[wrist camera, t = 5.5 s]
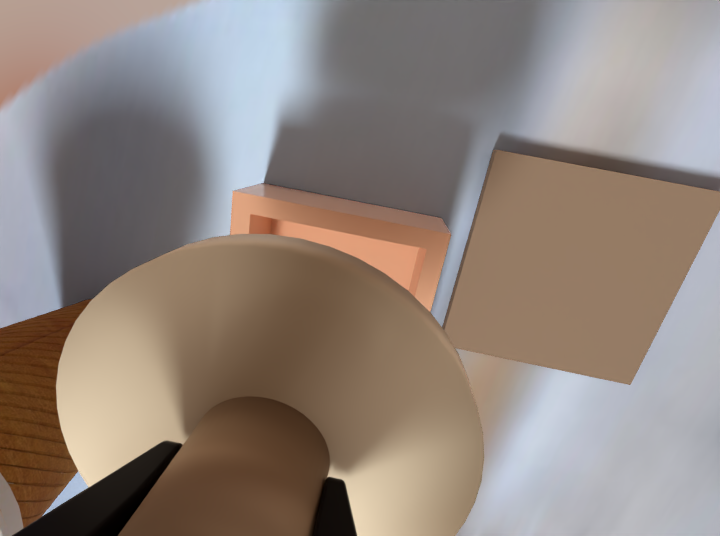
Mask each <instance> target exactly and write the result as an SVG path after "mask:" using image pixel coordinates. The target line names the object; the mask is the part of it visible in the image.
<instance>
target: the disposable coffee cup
mask: <svg viewBox="0 0 720 536" xmlns="http://www.w3.org/2000/svg"><path fill="white" fill-rule="evenodd" d="M91 300H92V299H89V300H84V301H82V302H79V303H76V304H73V305H70V306H67V307H64V308H61V309H58V310H55V311H52V312H49V313H46V314H43V315H40V316H37V317H34V318H31V319H28V320H25V321H22V322H18V323H15V324H12V325H9V326H7V327H3V328H0V536H12V535H13V534H15V533H17V532H18V531H20V530H21V529H23V528H25V527H26V526H28V525H29V524H31V523H33V522H34V521H36V520H37V519H39V518H41V517H42V515H43V514H44V513H45V511H46V510H47V509H48V508H49V507H50V506H51V504H52V503H53V502H54V500H55V499H56V498H57V496H58V495H59V494H60V493H61V492H62V491H63V489H64V488H65V487H66V485H67V484H68V483H69V481H71V479H72V478H73V477H74V476H75V474H76V473H77V472H78V469H77V467H76V465H75V463H74V461H73V459H72V457H71V455H70V453H69V451H68V448H67V445H66V442H65V439H64V436H63V433H62V430H61V426H60V421H59V415H58V410H57V395H56V382H57V374H58V365H59V361H60V357H61V354H62V351H63V347H64V344H65V341H66V339H67V337H68V335H69V333H70V331H71V329H72V327H73V325H74V323H75V321H76V320H77V318H78V317H79V316H80V314H81V313H82V312H83V310H84V309H85V308H86V306H87V305H88V304H89V302H90V301H91Z"/></svg>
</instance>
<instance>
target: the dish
mask: <svg viewBox="0 0 720 536" xmlns="http://www.w3.org/2000/svg"><path fill="white" fill-rule="evenodd" d="M235 234H273V235H280V236H287V237H294V238H301V239H304V240H308V241H312V242H315V243H319V244H323V245H326V246H330V247H332V248H335V249H337V250H340V251H342V252H344V253H347V254H349V255H352V256H354V257H357V258H359V259H361V260H362V261H364V262H366V263H368V264H369V265H371V266H373V267H375V268H376V269H378V270H380V271H382V272H383V273H385V274H386V275H388V276H389V277H390V278H392V279H393V280H394V281H396V282H397V283H398V284H400V285H401V286H402V287H404V288H405V289H406V290H408V291H409V292H410V293H411V294H412V295H413V296H414V297H415V298H416V299H417V300H418V301H419V302H420V303H421V304H422V305H423V306H424V307H425V308H426V309H427V310H429V312H430V311H431V308H432V304H433V300H434V296H435V293H436V289H437V285H438V282H439V278H440V274H441V270H442V267H443V263H444V259H445V256H446V252H447V248H448V245H449V241H450V237H451V233H450V231H449V230H448V228H447V226H446V225H445V223H444V221H443V220H442V218H439V217H434V216H429V215H424V214H419V213H413V212H408V211H403V210H398V209H393V208H388V207H383V206H378V205H373V204H368V203H363V202H357V201H352V200H347V199H342V198H337V197H332V196H327V195H322V194H317V193H312V192H307V191H301V190H296V189H291V188H286V187H281V186H276V185H271V184H266V183H261V184H257V185H254V186H250V187H246V188H242V189H238V190H234V191H233V196H232V213H231V229H230V235H235Z"/></svg>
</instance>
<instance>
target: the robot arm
mask: <svg viewBox="0 0 720 536" xmlns="http://www.w3.org/2000/svg"><path fill="white" fill-rule="evenodd" d="M182 446H183V444H181V443H178V442H173V441H168V440H166V441H163V442H161V443H159V444H157V445H156V446H154V447H153V448H151V449H149V450H148V451H146V452H145V453H143V454H141V455H140V456H138V457H137V458H135V459H133V460H132V461H130V462H129V463H127V464H125V465H124V466H122V467H121V468H119V469H117V470H116V471H114V472H113V473H111V474H109V475H108V476H106V477H105V478H103V479H101V480H100V481H98V482H97V483H95V484H93V485H92V486H90V487H89V488H87V489H85V490H84V491H82V492H81V493H79V494H77V495H76V496H74V497H73V498H71V499H69V500H68V501H66V502H65V503H63V504H61V505H60V506H58V507H57V508H55V509H53V510H52V511H50V512H49V513H47V514H45V515H44V516H42V517H41V518H39V519H37V520H36V521H34V522H33V523H31V524H29V525H28V526H26V527H25V528H23V529H21V530H20V531H18V532H17V533H15V534H13V535H12V536H118V535H119V533H120V532H121V531H122V529H123V528H124V526H125V525H126V524H127V522H128V521H129V520H130V518H131V517H132V515H133V514H134V513H135V511H136V510H137V508H138V507H139V506H140V504H141V503H142V501H143V500H144V499H145V497H146V496H147V494H148V493H149V492H150V490H151V489H152V487H153V486H154V485H155V483H156V482H157V481H158V479H159V478H160V476H161V475H162V474H163V472H164V471H165V469H166V468H167V467H168V465H169V464H170V462H171V461H172V460H173V458H174V457H175V455H176V454H177V453H178V451H179V450H180V449H181V447H182ZM313 536H357V532H356V528H355V523H354V519H353V514H352V510H351V506H350V501H349V497H348V493H347V488H346V484H345V482H344V481H343V480H342V479H337V478H333V477H327V478H326V480H325V484H324V489H323V493H322V498H321V503H320V507H319V512H318V516H317V521H316V525H315V530H314V535H313Z"/></svg>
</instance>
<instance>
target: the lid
mask: <svg viewBox="0 0 720 536" xmlns="http://www.w3.org/2000/svg"><path fill="white" fill-rule="evenodd" d="M56 395H57V410H58V415H59V421H60V426H61V430H62V433H63V436H64V439H65V442H66V445H67V448H68V451H69V453H70V455H71V457H72V459H73V461H74V463H75V465H76V467H77V469H78V471H79V473H80V474H81V476H82V477H83V479H84V481H85V482H86V484H87V485H88V487H90V486H92V485H93V484H95V483H97V482H98V481H100V480H101V479H103V478H105V477H106V476H108V475H109V474H111V473H113V472H114V471H116V470H117V469H119V468H121V467H122V466H124V465H125V464H127V463H129V462H130V461H132V460H133V459H135V458H137V457H138V456H140V455H141V454H143V453H145V452H146V451H148V450H149V449H151V448H153V447H154V446H156V445H157V444H159V443H161V442H163V441H166V440H168V441H173V442H178V443H181V444H183V446H182V447H181V449H180V450H179V451H178V453H177V454H176V455H175V457H174V458H173V460H172V461H171V462H170V464H169V465H168V467H167V468H166V469H165V471H164V472H163V474H162V475H161V476H160V478H159V479H158V481H157V482H156V483H155V485H154V486H153V487H152V489H151V490H150V492H149V493H148V494H147V496H146V497H145V499H144V500H143V501H142V503H141V504H140V506H139V507H138V508H137V510H136V511H135V513H134V514H133V515H132V517H131V518H130V520H129V521H128V522H127V524H126V525H125V526H124V528H123V529H122V531H121V532H120V533H119V535H118V536H313V535H314V530H315V525H316V521H317V516H318V512H319V507H320V503H321V498H322V493H323V489H324V484H325V480H326V478H327V477H333V478H337V479H342V480H343V481H344V482H345V484H346V488H347V493H348V497H349V501H350V506H351V510H352V514H353V519H354V523H355V528H356V532H357V536H455V535H456V534H457V532H458V531H459V529H460V528H461V527H462V525H463V524H464V523H465V521H466V519H467V517H468V515H469V513H470V511H471V509H472V507H473V505H474V503H475V500H476V497H477V494H478V490H479V487H480V484H481V479H482V471H483V463H484V445H483V432H482V427H481V423H480V418H479V413H478V409H477V405H476V402H475V399H474V396H473V392H472V389H471V386H470V383H469V379H468V377H467V374H466V372H465V369H464V366H463V364H462V361H461V359H460V356H459V354H458V353H457V351H456V349H455V347H454V346H453V344H452V342H451V340H450V339H449V337H448V335H447V333H446V332H445V331H444V329H443V328H442V327H441V326H440V324H439V323H438V322H437V321H436V319H435V318H434V317H433V315H432V314H431V313H430V312H429V310H427V309H426V308H425V307H424V306H423V305H422V304H421V303H420V302H419V301H418V300H417V299H416V298H415V297H414V296H413V295H412V294H411V293H410V292H409V291H408V290H406V289H405V288H404V287H402V286H401V285H400V284H398V283H397V282H396V281H394V280H393V279H392V278H390V277H389V276H388V275H386V274H385V273H383V272H382V271H380V270H378V269H376V268H375V267H373V266H371V265H369V264H368V263H366V262H364V261H362V260H361V259H359V258H357V257H354V256H352V255H349V254H347V253H344V252H342V251H340V250H337V249H335V248H332V247H330V246H326V245H323V244H319V243H315V242H312V241H308V240H304V239H301V238H294V237H287V236H280V235H273V234H235V235H227V236H219V237H212V238H208V239H205V240H201V241H197V242H194V243H190V244H186V245H184V246H182V247H180V248H177V249H175V250H173V251H170V252H168V253H166V254H164V255H161V256H159V257H157V258H155V259H153V260H151V261H148V262H146V263H144V264H142V265H140V266H138V267H135V268H133V269H131V270H130V271H128V272H127V273H125V274H124V275H122V276H121V277H119V278H117V279H116V280H114V281H113V282H111V283H110V284H109V285H107V286H106V287H105V288H104V289H103V290H102V291H101V292H100V293H99V294H98V295H97V296H96V297H94V298H93V299H92V300H91V301H90V302H89V304H88V305H87V306H86V308H85V309H84V310H83V312H82V313H81V314H80V316H79V317H78V318H77V320H76V321H75V323H74V325H73V327H72V329H71V331H70V333H69V335H68V337H67V339H66V341H65V344H64V347H63V351H62V354H61V357H60V361H59V365H58V374H57V382H56Z"/></svg>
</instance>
